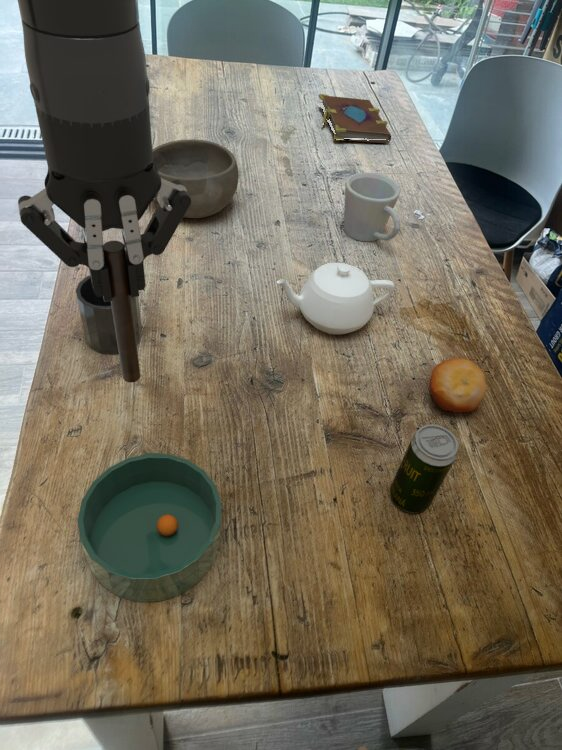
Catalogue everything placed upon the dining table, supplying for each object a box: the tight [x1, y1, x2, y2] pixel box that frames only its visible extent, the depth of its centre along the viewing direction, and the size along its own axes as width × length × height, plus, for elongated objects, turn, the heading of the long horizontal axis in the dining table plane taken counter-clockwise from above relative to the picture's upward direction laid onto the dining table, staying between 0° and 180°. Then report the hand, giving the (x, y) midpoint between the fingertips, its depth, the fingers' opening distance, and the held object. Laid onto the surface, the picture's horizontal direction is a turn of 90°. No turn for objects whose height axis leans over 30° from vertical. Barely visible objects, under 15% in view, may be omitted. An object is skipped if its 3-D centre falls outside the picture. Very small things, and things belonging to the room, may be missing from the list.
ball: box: [157, 514, 178, 536], centre depth 67 cm, size 2×2×2 cm
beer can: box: [389, 423, 459, 514], centre depth 70 cm, size 5×5×12 cm
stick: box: [103, 240, 141, 384], centre depth 54 cm, size 2×2×16 cm
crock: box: [75, 274, 143, 355], centre depth 86 cm, size 8×8×9 cm
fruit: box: [428, 357, 488, 413], centre depth 85 cm, size 8×8×8 cm
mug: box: [343, 171, 401, 243], centre depth 111 cm, size 10×15×10 cm
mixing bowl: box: [76, 453, 222, 603], centre depth 65 cm, size 15×15×6 cm
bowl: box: [152, 139, 240, 219], centre depth 113 cm, size 17×18×10 cm
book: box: [318, 93, 392, 144], centre depth 149 cm, size 16×25×5 cm, turn 9°
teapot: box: [276, 261, 396, 335], centre depth 94 cm, size 20×12×10 cm, turn 100°
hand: (119, 293), depth 52 cm, fingers closed on stick, 2 cm apart
